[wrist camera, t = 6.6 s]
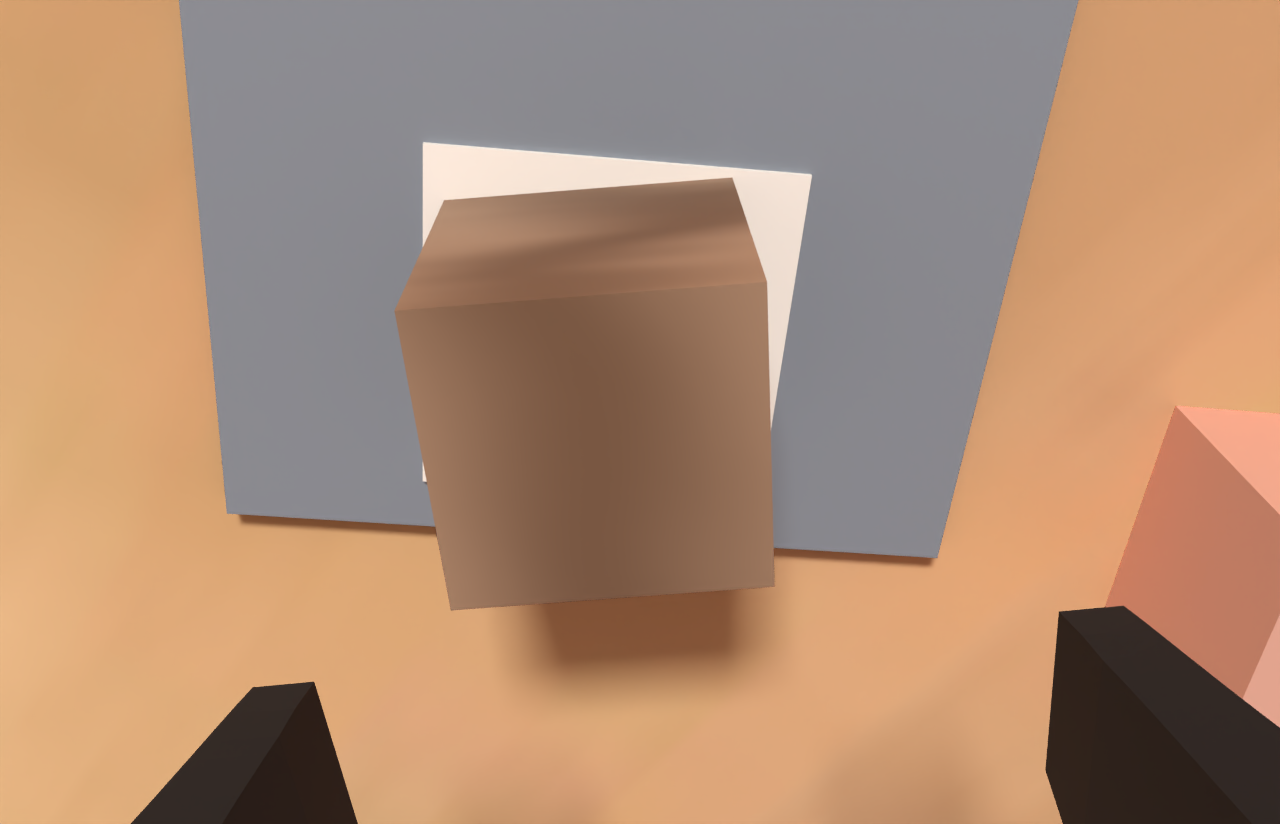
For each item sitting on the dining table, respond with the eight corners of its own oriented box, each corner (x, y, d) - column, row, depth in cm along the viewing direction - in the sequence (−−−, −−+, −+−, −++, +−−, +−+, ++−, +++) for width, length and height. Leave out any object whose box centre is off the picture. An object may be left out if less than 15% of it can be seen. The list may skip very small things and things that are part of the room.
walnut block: (732, 177, 18) (766, 281, 14) (742, 431, 20) (774, 586, 16) (444, 200, 18) (394, 310, 14) (483, 450, 20) (450, 610, 16)
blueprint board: (1070, -12, 17) (1083, -8, 16) (932, 545, 21) (938, 561, 21) (180, -96, 16) (167, -94, 16) (233, 501, 21) (224, 516, 20)
